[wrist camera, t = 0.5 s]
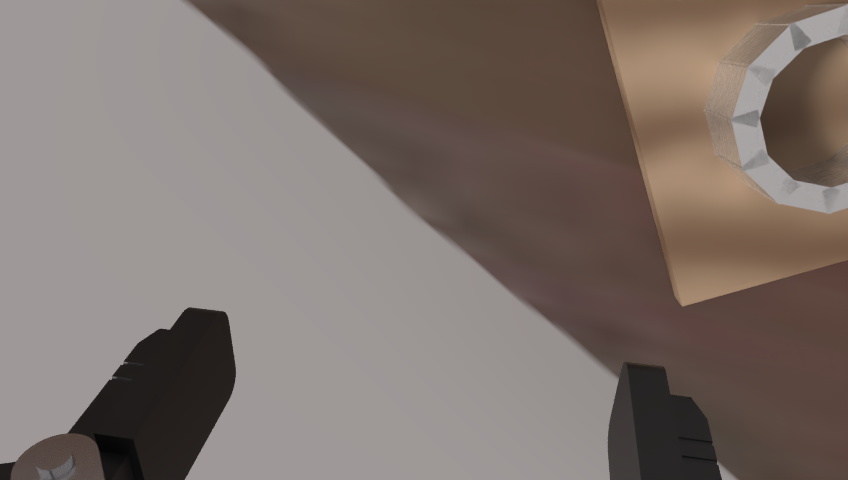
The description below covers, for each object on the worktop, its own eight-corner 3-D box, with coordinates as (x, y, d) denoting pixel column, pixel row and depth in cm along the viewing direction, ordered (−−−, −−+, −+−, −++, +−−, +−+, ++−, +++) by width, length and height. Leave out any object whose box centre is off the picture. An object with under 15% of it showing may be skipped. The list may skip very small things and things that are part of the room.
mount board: (590, -20, 36) (595, -21, 35) (923, -139, 34) (943, -146, 32) (674, 296, 41) (682, 306, 40) (972, 211, 38) (991, 219, 37)
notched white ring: (687, 44, 35) (714, 48, 32) (879, -20, 34) (930, -25, 30) (727, 213, 38) (756, 235, 34) (908, 159, 36) (959, 176, 33)
